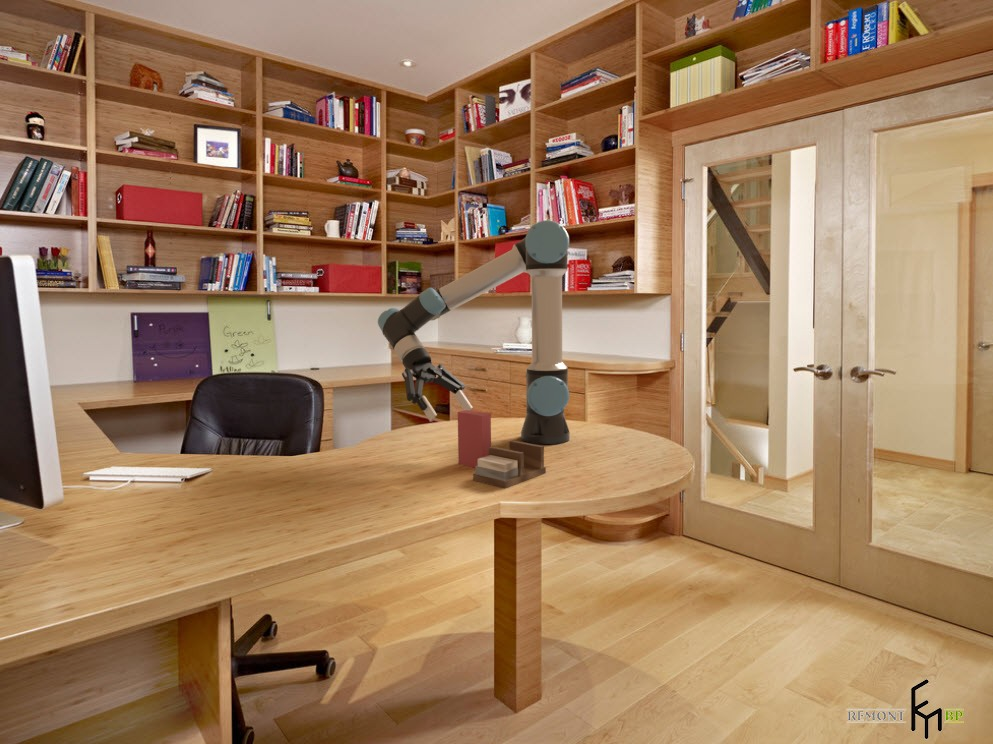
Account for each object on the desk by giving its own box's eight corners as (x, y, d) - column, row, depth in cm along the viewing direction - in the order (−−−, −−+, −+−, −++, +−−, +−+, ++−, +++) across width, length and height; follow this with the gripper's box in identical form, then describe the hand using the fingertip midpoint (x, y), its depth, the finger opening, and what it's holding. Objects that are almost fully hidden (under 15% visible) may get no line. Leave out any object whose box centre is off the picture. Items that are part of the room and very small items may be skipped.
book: (467, 461, 167) (466, 410, 166) (491, 466, 162) (490, 413, 160) (458, 463, 165) (457, 411, 163) (482, 469, 159) (481, 415, 157)
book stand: (514, 466, 162) (514, 439, 161) (545, 472, 155) (545, 445, 154) (473, 480, 149) (472, 451, 149) (505, 488, 143) (504, 458, 142)
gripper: (438, 360, 185) (476, 416, 177) (371, 368, 166) (410, 430, 158) (451, 343, 181) (490, 399, 173) (384, 349, 162) (424, 412, 154)
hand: (452, 414), depth 166 cm, fingers open, 13 cm apart
